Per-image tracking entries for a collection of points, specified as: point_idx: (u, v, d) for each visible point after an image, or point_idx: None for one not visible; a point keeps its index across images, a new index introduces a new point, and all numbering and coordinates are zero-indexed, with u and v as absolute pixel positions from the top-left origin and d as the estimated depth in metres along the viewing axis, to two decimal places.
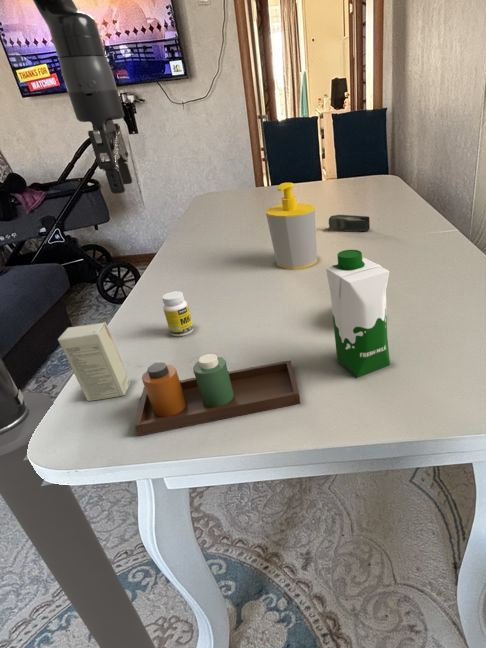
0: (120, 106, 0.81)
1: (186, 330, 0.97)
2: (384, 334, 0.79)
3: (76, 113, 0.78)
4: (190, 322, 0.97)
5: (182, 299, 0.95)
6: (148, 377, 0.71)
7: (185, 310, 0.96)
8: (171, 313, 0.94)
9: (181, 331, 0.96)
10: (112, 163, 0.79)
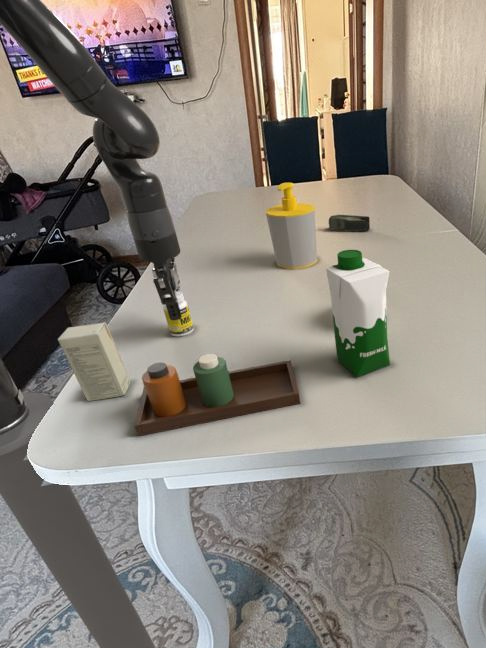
0: (177, 245, 0.90)
1: (186, 330, 0.97)
2: (384, 334, 0.79)
3: (140, 255, 0.87)
4: (190, 322, 0.97)
5: (182, 299, 0.95)
6: (148, 377, 0.71)
7: (185, 310, 0.96)
8: None
9: (181, 331, 0.96)
10: (173, 299, 0.90)
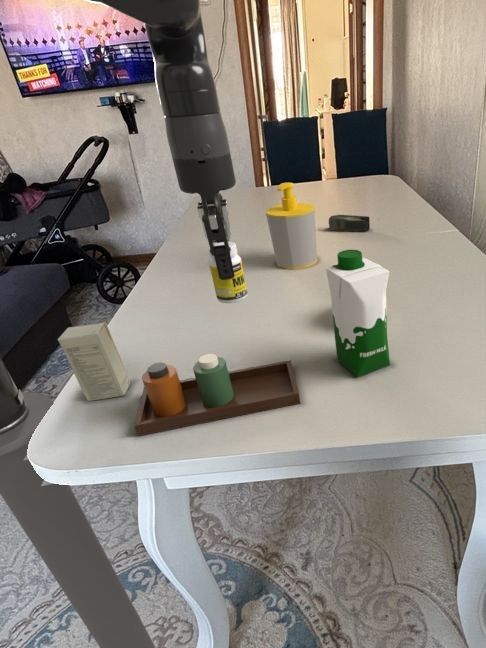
0: (233, 172, 0.64)
1: (239, 295, 0.71)
2: (384, 334, 0.79)
3: (181, 183, 0.62)
4: (244, 284, 0.72)
5: (235, 251, 0.69)
6: (148, 377, 0.71)
7: (239, 267, 0.70)
8: None
9: (233, 296, 0.71)
10: (227, 248, 0.64)
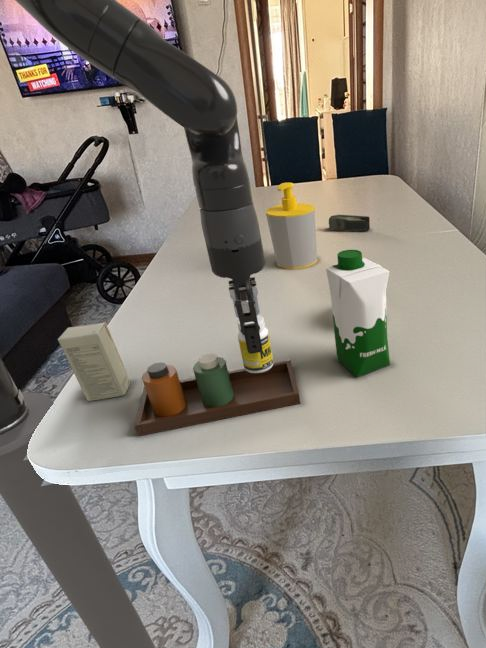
0: (263, 255, 0.67)
1: (266, 365, 0.74)
2: (384, 334, 0.79)
3: (214, 268, 0.65)
4: (270, 354, 0.74)
5: (263, 325, 0.72)
6: (148, 377, 0.71)
7: (267, 340, 0.73)
8: None
9: (260, 367, 0.73)
10: (257, 328, 0.67)
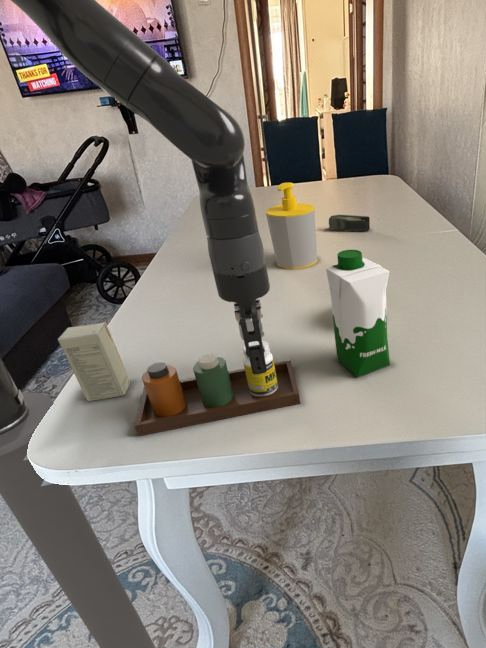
0: (268, 279, 0.69)
1: (271, 389, 0.76)
2: (384, 334, 0.79)
3: (221, 293, 0.67)
4: (275, 378, 0.77)
5: (268, 351, 0.74)
6: (148, 377, 0.71)
7: (271, 365, 0.75)
8: None
9: (265, 391, 0.76)
10: (262, 351, 0.67)
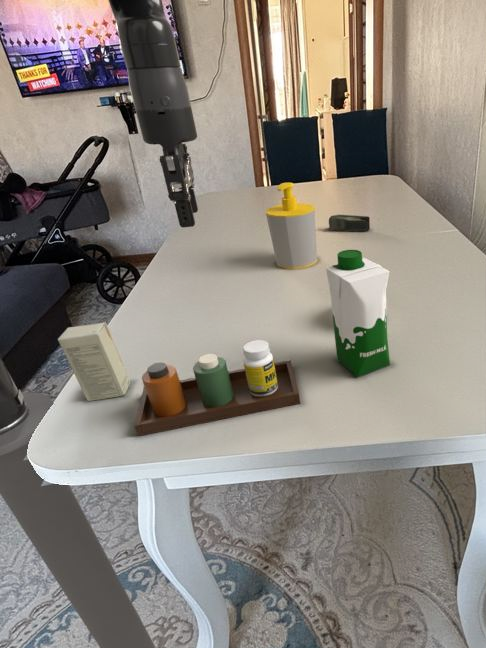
0: (194, 126, 0.68)
1: (271, 389, 0.76)
2: (384, 334, 0.79)
3: (144, 134, 0.66)
4: (275, 378, 0.77)
5: (268, 351, 0.74)
6: (148, 377, 0.71)
7: (271, 365, 0.75)
8: (255, 370, 0.74)
9: (265, 391, 0.76)
10: (185, 194, 0.67)
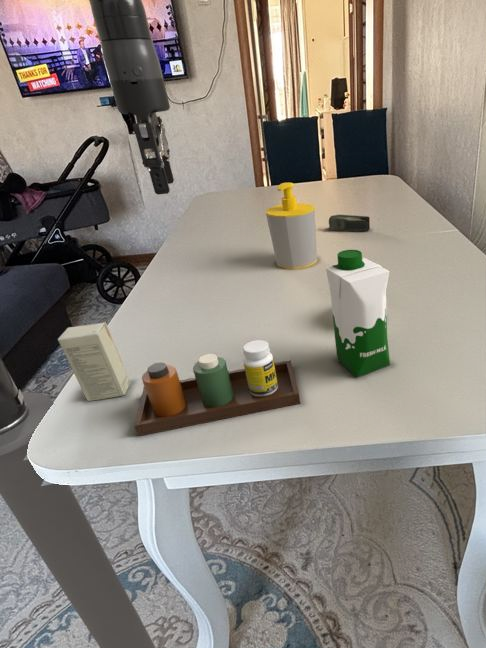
0: (166, 97, 0.72)
1: (271, 389, 0.76)
2: (384, 334, 0.79)
3: (118, 104, 0.70)
4: (275, 378, 0.77)
5: (268, 351, 0.74)
6: (148, 377, 0.71)
7: (271, 365, 0.75)
8: (255, 370, 0.74)
9: (265, 391, 0.76)
10: (158, 160, 0.70)
